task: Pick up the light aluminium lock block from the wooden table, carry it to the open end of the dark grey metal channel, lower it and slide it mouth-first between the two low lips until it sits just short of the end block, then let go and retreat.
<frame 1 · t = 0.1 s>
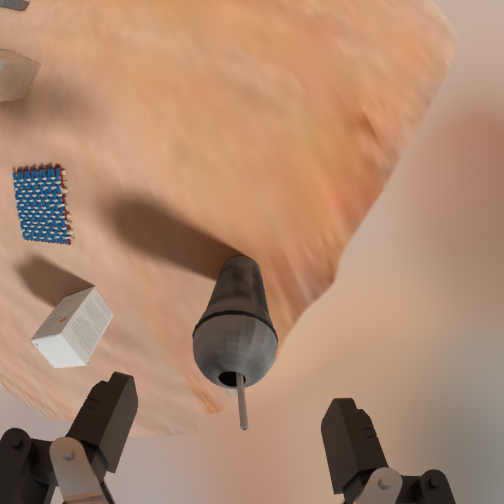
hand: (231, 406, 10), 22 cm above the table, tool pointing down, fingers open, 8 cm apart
beverage cup: (241, 271, 33), on the table
woven mat: (46, 203, 30), on the table
lock block: (19, 73, 20), on the table
small box: (88, 304, 36), on the table
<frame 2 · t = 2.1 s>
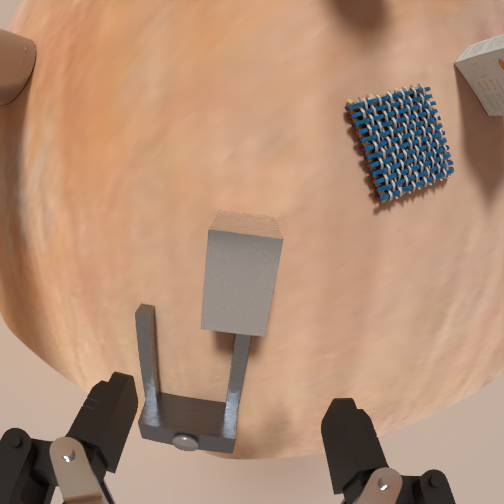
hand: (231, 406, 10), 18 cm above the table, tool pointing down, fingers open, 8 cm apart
woven mat: (400, 139, 23), on the table
lock block: (241, 254, 27), on the table
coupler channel: (193, 361, 31), on the table
small box: (478, 80, 20), on the table
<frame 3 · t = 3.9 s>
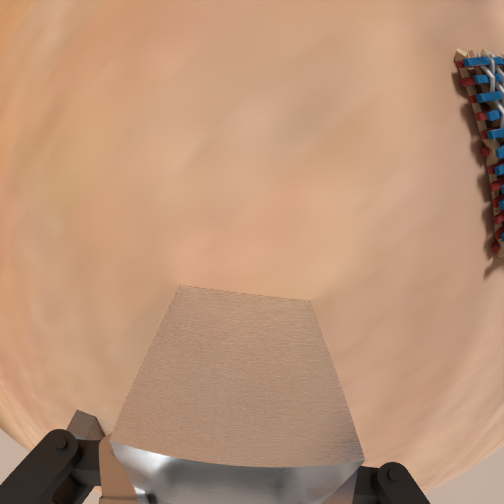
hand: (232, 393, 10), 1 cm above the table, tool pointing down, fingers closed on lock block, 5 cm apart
lock block: (234, 370, 12), on the table, touching gripper
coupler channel: (167, 475, 16), on the table
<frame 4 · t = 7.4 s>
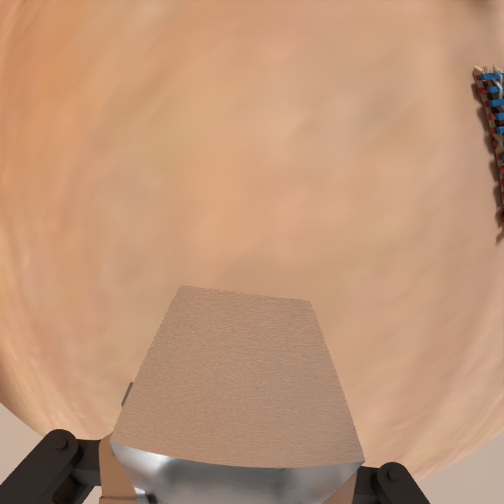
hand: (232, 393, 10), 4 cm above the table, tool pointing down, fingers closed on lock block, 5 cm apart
lock block: (234, 370, 12), point 3 cm above the table, touching gripper
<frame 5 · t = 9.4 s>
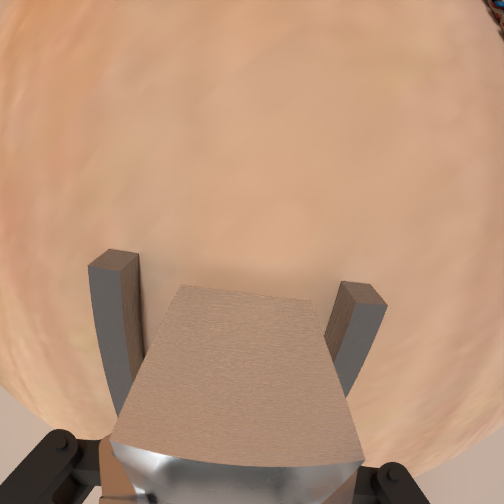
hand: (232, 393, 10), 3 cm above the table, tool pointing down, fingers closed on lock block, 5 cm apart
lock block: (234, 369, 12), point 1 cm above the table, touching gripper
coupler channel: (224, 384, 14), on the table
when the fingers open (3 cm above the table, at t = 10.8 s): lock block drops 1 cm, resting in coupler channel.
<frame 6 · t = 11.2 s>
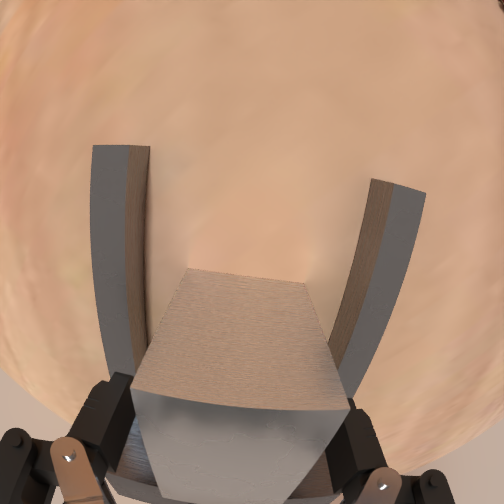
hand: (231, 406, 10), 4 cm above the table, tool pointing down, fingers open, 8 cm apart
lock block: (235, 348, 13), resting in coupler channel
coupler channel: (240, 317, 12), on the table
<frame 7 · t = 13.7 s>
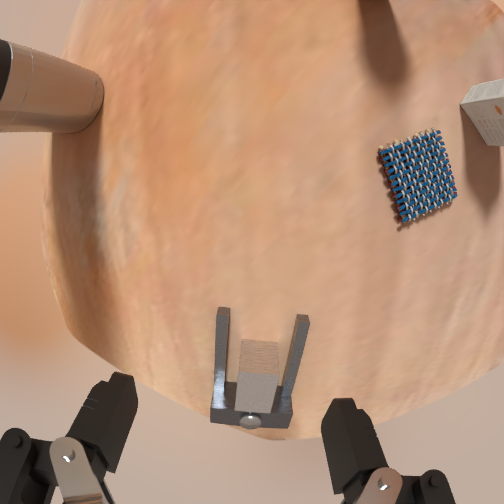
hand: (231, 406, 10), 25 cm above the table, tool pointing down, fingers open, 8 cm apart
woven mat: (417, 173, 31), on the table
lock block: (256, 361, 40), resting in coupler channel
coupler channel: (257, 351, 39), on the table
small box: (479, 114, 26), on the table
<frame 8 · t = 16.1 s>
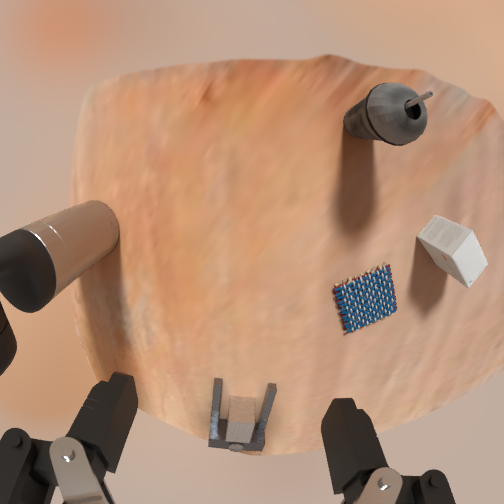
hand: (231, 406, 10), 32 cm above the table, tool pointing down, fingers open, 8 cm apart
beverage cup: (357, 123, 35), on the table
woven mat: (365, 295, 45), on the table
lock block: (240, 407, 53), resting in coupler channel
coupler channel: (241, 403, 53), on the table
small box: (434, 239, 41), on the table
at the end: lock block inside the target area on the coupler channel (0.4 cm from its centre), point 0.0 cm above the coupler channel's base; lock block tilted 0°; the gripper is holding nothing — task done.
